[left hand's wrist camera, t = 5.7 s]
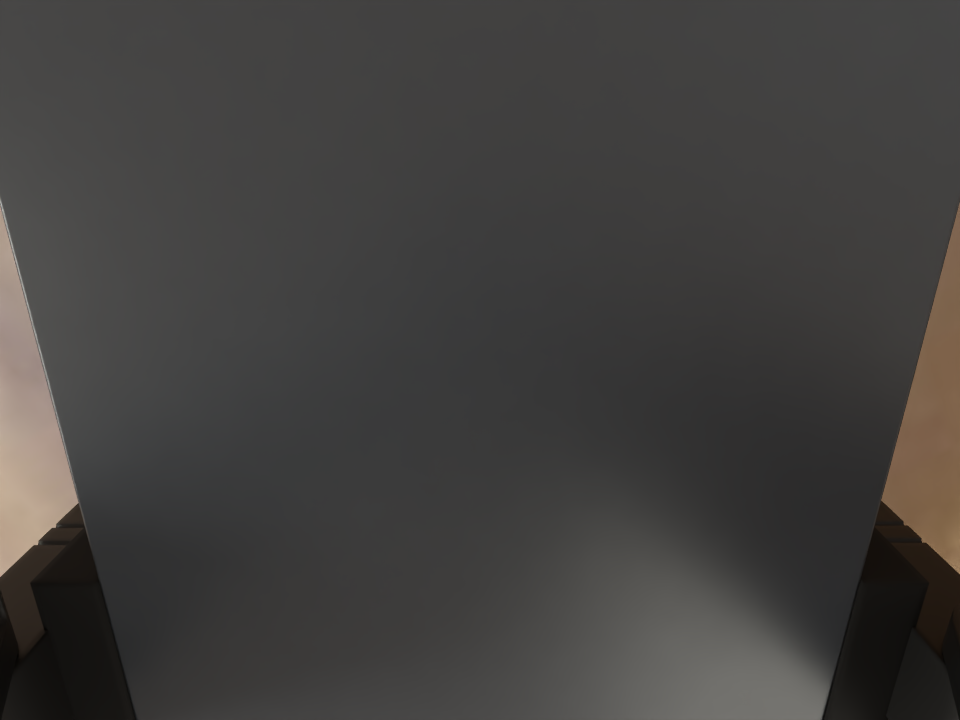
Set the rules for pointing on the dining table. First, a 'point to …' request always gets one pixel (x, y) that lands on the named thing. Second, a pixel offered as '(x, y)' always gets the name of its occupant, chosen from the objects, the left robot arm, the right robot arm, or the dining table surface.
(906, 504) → the dining table surface
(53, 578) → the left robot arm
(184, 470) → the wide beam
